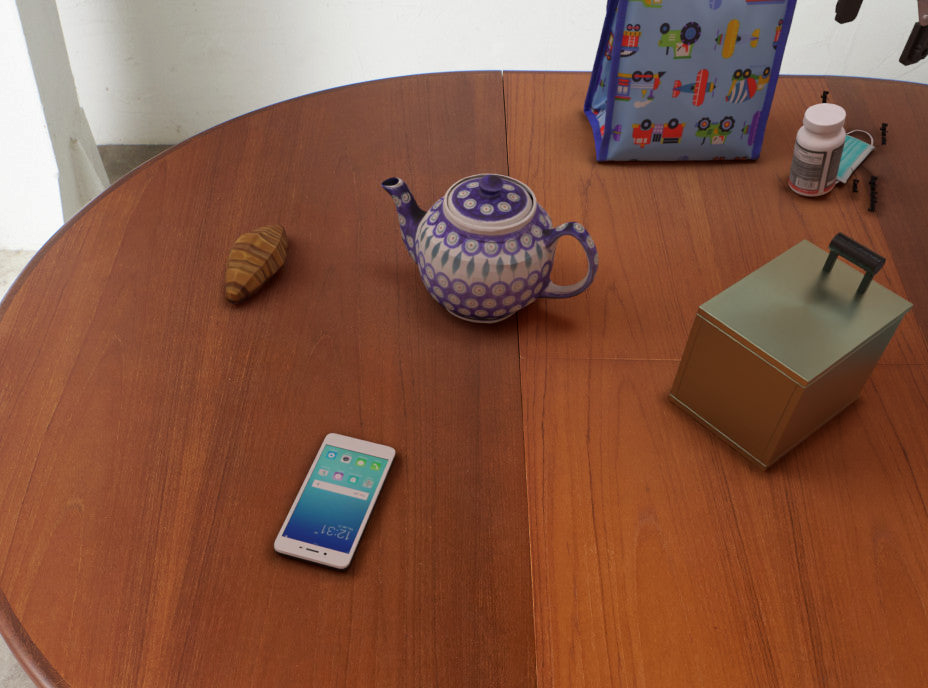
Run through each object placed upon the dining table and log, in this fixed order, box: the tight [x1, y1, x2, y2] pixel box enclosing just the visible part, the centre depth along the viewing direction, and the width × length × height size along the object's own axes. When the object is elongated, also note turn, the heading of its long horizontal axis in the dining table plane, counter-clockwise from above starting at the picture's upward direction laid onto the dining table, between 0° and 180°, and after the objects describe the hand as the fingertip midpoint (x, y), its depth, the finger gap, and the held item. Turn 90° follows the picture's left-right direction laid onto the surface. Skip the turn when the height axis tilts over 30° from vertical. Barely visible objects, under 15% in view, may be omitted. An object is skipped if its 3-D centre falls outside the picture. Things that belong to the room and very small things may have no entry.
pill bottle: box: [788, 102, 847, 197], centre depth 117 cm, size 6×6×10 cm
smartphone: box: [273, 432, 396, 572], centre depth 89 cm, size 8×1×15 cm
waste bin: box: [667, 312, 905, 472], centre depth 94 cm, size 16×13×12 cm
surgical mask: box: [820, 90, 889, 213], centre depth 124 cm, size 21×4×10 cm
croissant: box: [223, 224, 289, 305], centre depth 108 cm, size 14×7×5 cm, turn 161°
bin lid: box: [696, 231, 914, 388], centre depth 88 cm, size 16×13×5 cm
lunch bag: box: [583, 0, 798, 162], centre depth 116 cm, size 22×14×29 cm, turn 93°
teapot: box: [380, 173, 600, 324], centre depth 102 cm, size 25×15×15 cm, turn 63°
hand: (875, 41), depth 88 cm, fingers open, 8 cm apart
